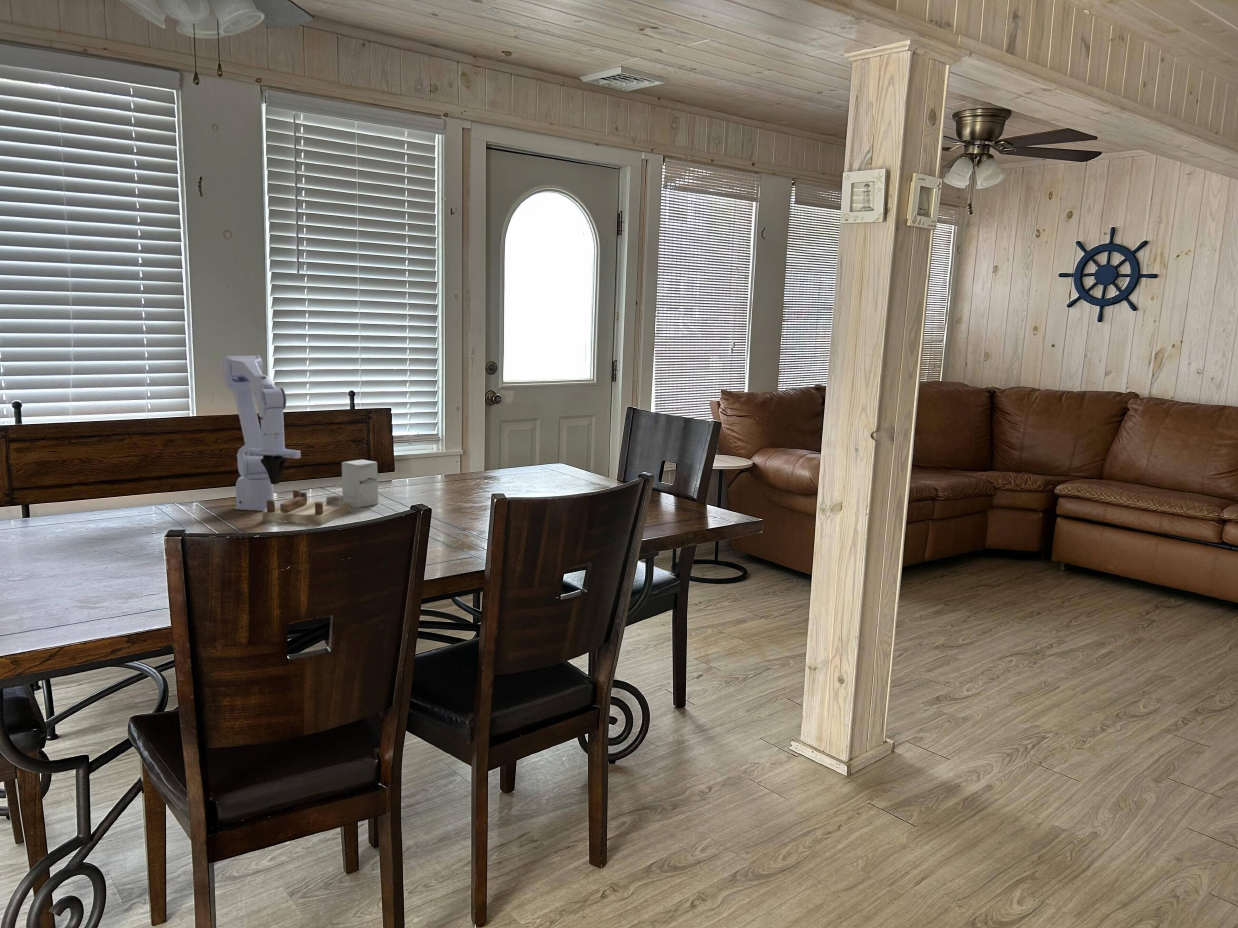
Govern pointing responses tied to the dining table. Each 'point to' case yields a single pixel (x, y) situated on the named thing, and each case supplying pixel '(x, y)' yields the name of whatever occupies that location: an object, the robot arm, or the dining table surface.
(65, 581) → the dining table surface
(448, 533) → the dining table surface
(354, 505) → the supplement box
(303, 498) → the leg
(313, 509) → the wooden peg board
